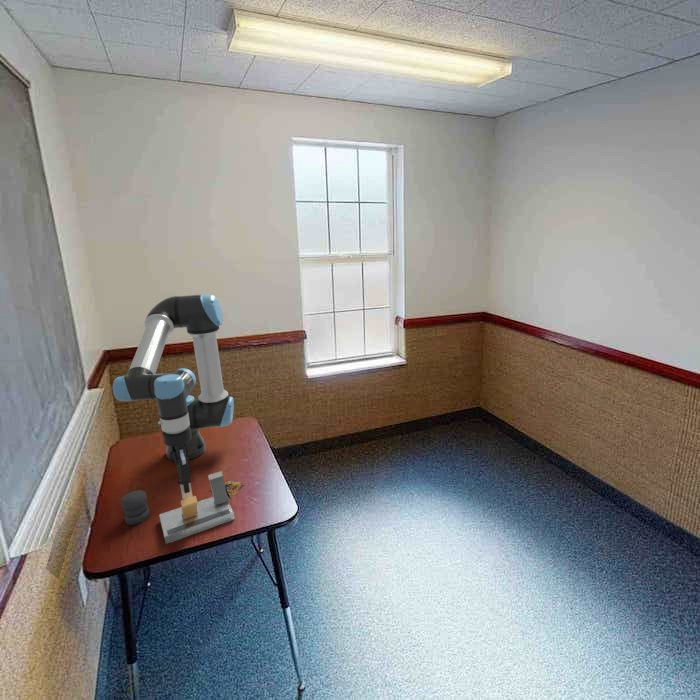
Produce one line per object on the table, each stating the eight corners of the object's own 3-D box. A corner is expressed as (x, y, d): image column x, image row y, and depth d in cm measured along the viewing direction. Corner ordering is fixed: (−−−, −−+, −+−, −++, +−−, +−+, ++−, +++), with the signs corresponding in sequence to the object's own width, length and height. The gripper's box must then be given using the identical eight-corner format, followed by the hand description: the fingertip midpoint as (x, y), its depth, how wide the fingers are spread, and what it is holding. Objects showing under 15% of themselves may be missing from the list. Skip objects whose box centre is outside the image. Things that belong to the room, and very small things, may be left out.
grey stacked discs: (124, 515, 134) (120, 495, 132) (148, 508, 137) (144, 487, 135) (126, 528, 128) (121, 506, 126) (150, 519, 132) (146, 498, 130)
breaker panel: (160, 521, 131) (159, 513, 130) (224, 499, 140) (223, 492, 140) (165, 544, 121) (164, 536, 120) (234, 519, 130) (233, 511, 130)
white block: (214, 505, 134) (207, 475, 136) (228, 501, 136) (221, 471, 138) (215, 505, 132) (208, 475, 134) (229, 500, 134) (222, 470, 136)
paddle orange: (181, 514, 128) (180, 500, 121) (196, 509, 130) (196, 495, 124) (182, 520, 127) (181, 506, 120) (197, 515, 129) (197, 501, 122)
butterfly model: (234, 500, 141) (233, 492, 140) (207, 491, 146) (206, 484, 145) (251, 487, 148) (250, 479, 147) (224, 479, 153) (223, 471, 153)
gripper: (159, 423, 123) (171, 493, 129) (165, 441, 112) (178, 516, 119) (185, 417, 127) (196, 485, 133) (194, 433, 116) (205, 506, 122)
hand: (187, 499), depth 126 cm, fingers closed
